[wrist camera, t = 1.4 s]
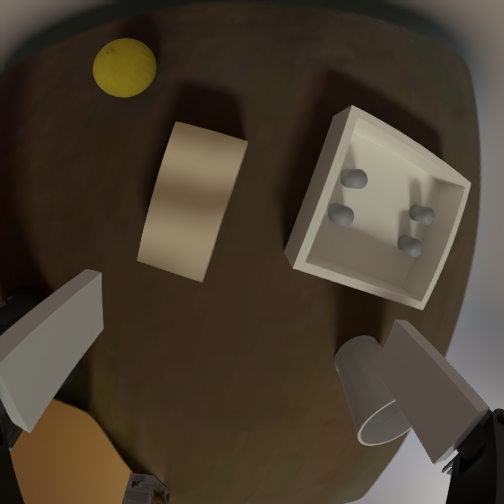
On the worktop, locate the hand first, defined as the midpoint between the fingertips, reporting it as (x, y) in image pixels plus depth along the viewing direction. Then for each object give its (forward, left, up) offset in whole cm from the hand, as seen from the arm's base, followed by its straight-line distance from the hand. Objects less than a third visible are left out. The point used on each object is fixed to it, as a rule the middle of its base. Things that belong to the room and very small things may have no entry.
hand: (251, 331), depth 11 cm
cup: (+18, -10, -17) cm, 27 cm away
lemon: (-16, +12, -17) cm, 26 cm away
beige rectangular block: (-6, +2, -17) cm, 18 cm away
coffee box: (-3, -59, -17) cm, 61 cm away
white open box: (+12, +7, -17) cm, 22 cm away
